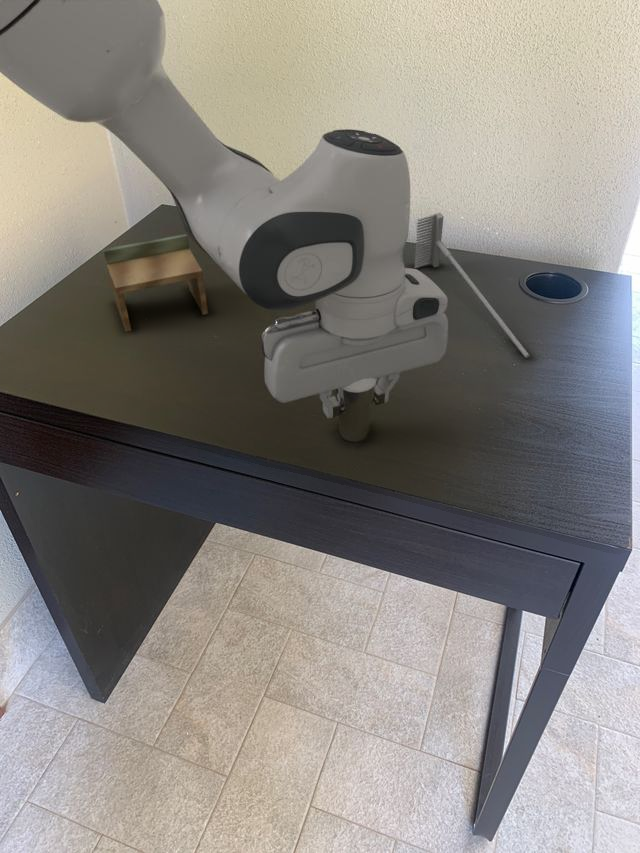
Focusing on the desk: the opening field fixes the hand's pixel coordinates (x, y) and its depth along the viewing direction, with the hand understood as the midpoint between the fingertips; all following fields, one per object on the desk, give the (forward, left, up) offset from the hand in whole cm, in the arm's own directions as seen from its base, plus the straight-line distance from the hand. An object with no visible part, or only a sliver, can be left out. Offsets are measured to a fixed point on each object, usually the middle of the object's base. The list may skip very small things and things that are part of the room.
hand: (355, 407), depth 77 cm
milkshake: (0, 0, -4) cm, 4 cm away
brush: (+27, +19, -4) cm, 33 cm away
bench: (-15, +36, -4) cm, 39 cm away
